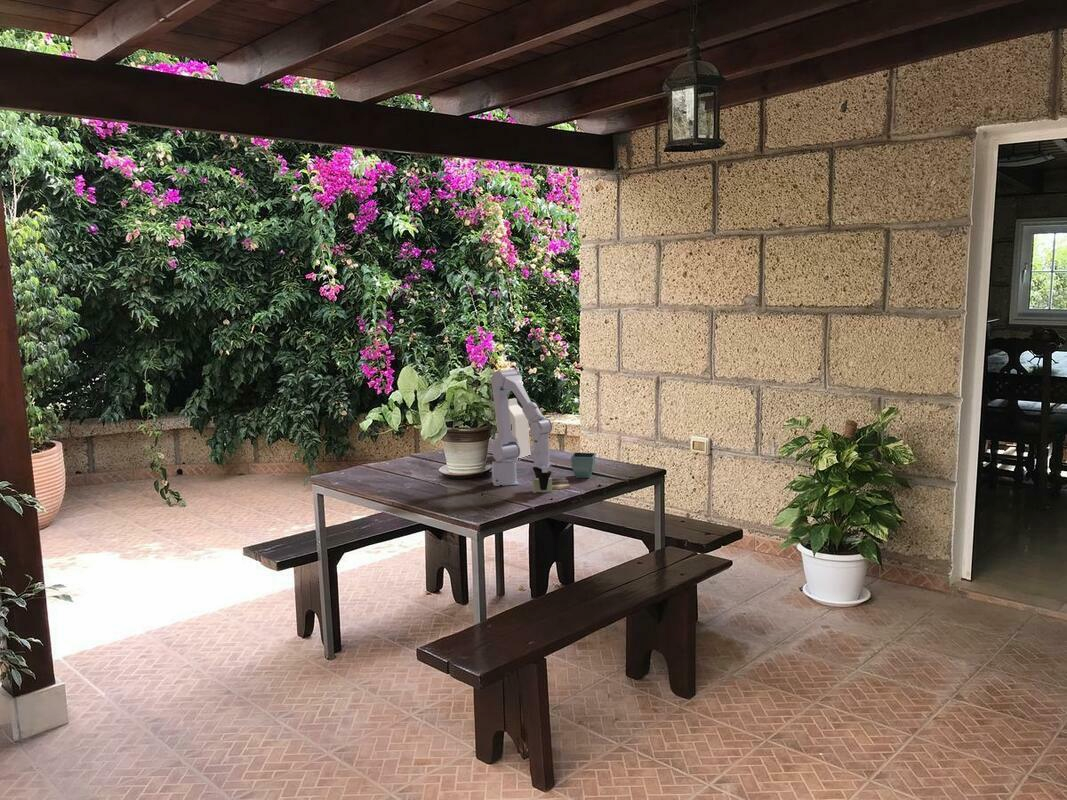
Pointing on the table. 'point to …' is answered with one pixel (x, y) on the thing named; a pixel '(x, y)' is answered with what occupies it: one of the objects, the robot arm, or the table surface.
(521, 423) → the milk
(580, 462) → the flower pot
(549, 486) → the pale green block
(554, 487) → the track board
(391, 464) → the table surface
